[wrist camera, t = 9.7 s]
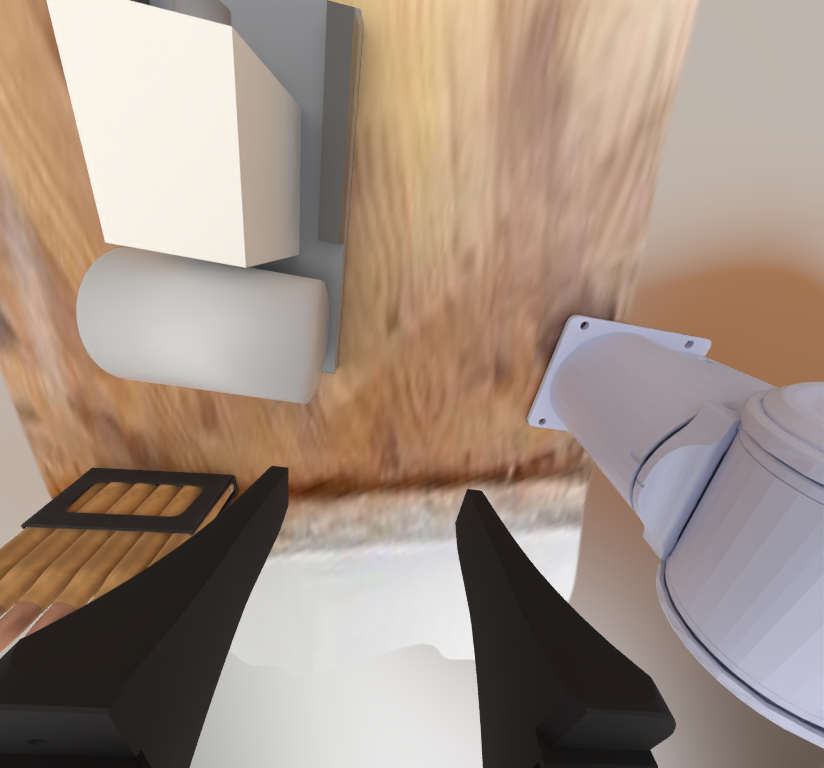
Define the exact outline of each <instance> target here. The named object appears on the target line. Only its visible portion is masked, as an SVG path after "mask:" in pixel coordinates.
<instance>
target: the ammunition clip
mask: <svg viewBox="0 0 824 768" xmlns="http://www.w3.org/2000/svg"><path fill="white" fill-rule="evenodd" d="M237 494H238V491H237V486H236V482H235V478H234V477H233V475H222V474H203V473H183V472H164V471H144V470H125V469H105V468H91V469H90V470H89V471H88V472H86V473H85V474H84V475H83V476H81V477H80V478H79V479H78V480H76V481H75V482H74V483H73V484H72V485H70V486H69V487H68V488H67V489H65V490H64V491H63V492H62V493H60V494H59V495H58V496H57V497H55V498H54V499H53V500H52V501H50V502H49V503H48V504H47V505H45V506H44V507H43V508H42V509H41V510H39V511H38V512H37V513H36V514H34V515H33V516H32V517H31V518H29V519H28V520H27V521H26V522H25V523H23V524H22V525H21V526H22V528H23V529H25V528H26V527H27V528H26V529H25V530H23V531H22V532H21V533H20V534H18V535H17V536H16V537H15V538H13V539H12V540H11V541H10V542H8V543H7V544H6V545H5V546H4V547H2V548H1V549H0V616H1V615H3V614H4V613H5V612H7V611H8V610H9V609H10V608H11V607H12V606H13V605H14V604H15V605H14V606H13V608H12V609H10V610H9V612H8V613H6V615H4V616H3V617H2V618H1V619H0V652H1V651H2V650H4V649H5V648H6V647H7V646H8V645H9V644H10V643H12V642H13V641H14V640H15V639H16V638H17V637H18V636H19V635H20V634H21V633H22V632H23V631H24V630H26V628H27V627H28V626H29V625H30V624H31V623H32V622H33V621H34V620H35V619H36V618H37V617H38V616H39V615H40V614H41V613H43V612H44V611H45V610H46V609H47V608H48V607H49V606H50V605H51V604H52V603H53V604H52V606H51V607H50V608H49V609H48V610H47V611H46V612H45V613H44V614H43V616H41V618H40V619H39V620H38V621H37V622H36V623H35V624H34V626H33V627H32V628H31V629H30V631H29V632H28V633H27V634H26V636H28V635H30V634H32V633H34V632H36V631H38V630H40V629H41V628H43V627H45V626H47V625H49V624H51V623H53V622H55V621H57V620H58V619H60V618H62V617H64V616H66V615H68V614H70V613H72V612H74V611H75V610H77V609H79V608H81V607H83V606H85V605H86V604H87V603H88V602H89V600H90V599H91V598H92V597H94V598H93V599H92V600H91V601H90V602H92V601H93V600H95V599H97V598H98V597H100V596H102V595H103V594H105V593H107V592H108V591H110V590H112V589H114V588H115V587H117V586H119V585H120V584H122V583H124V582H125V581H127V580H129V579H130V578H132V577H133V576H135V575H137V574H138V573H140V572H141V571H143V570H144V569H146V568H148V567H149V566H151V565H152V564H153V563H155V562H156V561H158V560H159V559H161V558H162V557H164V556H165V555H167V554H168V553H170V552H171V551H173V550H174V549H175V548H177V547H178V546H180V545H181V544H182V543H184V542H185V541H186V540H188V539H189V538H190V537H192V536H193V535H194V534H196V533H197V532H198V531H200V530H201V529H202V528H203V527H205V526H206V525H207V524H208V523H209V522H211V521H212V520H213V519H214V518H215V517H217V516H218V515H219V514H220V513H222V512H223V511H224V510H225V509H226V508H227V507H228V506H229V505H230V504H231V502H232V501H233V499H234V498H235V496H236V495H237ZM26 636H25V637H26Z"/></svg>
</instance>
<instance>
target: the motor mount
mask: <svg viewBox="0 0 824 768" xmlns="http://www.w3.org/2000/svg"><path fill="white" fill-rule="evenodd" d="M130 1H134V2H138V3H142V4H146V5H150V6H154V7H157V8H161V9H165V10H169V11H173V12H174V10H173V1H172V0H130ZM219 1H221V2H222V3H223V4H224V5H225V6H226V7H227V8H228V9H229V10H230V12H231V19H232V27H233V28H234V30H235V31H236V32H237V33H238V34H239V35H240V37H241V38H242V39H243V40H244V41H245V42H246V44H247V45H248V46H249V47H250V48H251V49H252V51H253V52H254V53H255V54H256V55H257V56H258V58H259V59H260V60H261V61H262V62H263V63H264V65H265V66H266V67H267V68H268V69H269V70H270V72H271V73H272V74H273V75H274V76H275V77H276V79H277V80H278V81H279V82H280V83H281V84H282V86H283V87H284V88H285V89H286V90H287V91H288V93H289V94H290V95H291V96H292V97H293V98H294V100H295V101H296V102H297V103H298V104H299V105H300V107H301V169H300V236H299V255H296V256H292V257H288V258H284V259H280V260H275V261H271V262H267V263H263V264H259V265H255V266H251V267H247V268H244V267H239V266H233V265H228V264H222V263H217V262H211V261H206V260H200V259H195V258H189V257H184V256H178V255H173V254H167V253H161V252H156V251H150V250H145V249H139V248H134V247H128V246H125V247H119V248H115V249H113V250H110V251H108V252H106V253H105V254H103V255H102V256H100V257H99V258H98V259H97V260H96V261H95V262H94V263H93V264H92V265H91V266H90V268H89V270H88V271H87V273H86V274H85V276H84V278H83V281H82V283H81V286H80V289H79V293H78V298H77V306H76V316H77V325H78V330H79V334H80V337H81V340H82V342H83V345H84V347H85V348H86V350H87V352H88V354H89V355H90V356H91V358H92V359H93V360H94V362H95V363H96V364H97V365H98V366H99V367H100V368H102V369H103V370H104V371H106V372H107V373H109V374H111V375H113V376H116V377H119V378H122V379H129V380H136V381H143V382H150V383H157V384H165V385H172V386H179V387H186V388H193V389H200V390H208V391H215V392H222V393H229V394H236V395H244V396H251V397H258V398H265V399H272V400H279V401H287V402H294V403H301V404H307V403H309V402H310V400H311V399H312V398H313V396H314V394H315V392H316V389H317V387H318V384H319V381H320V378H321V374H322V372H325V373H332V374H335V371H336V369H337V367H338V354H339V341H340V328H341V315H342V302H343V288H344V275H345V262H346V249H347V236H348V222H349V209H350V196H351V183H352V170H353V156H354V143H355V130H356V117H357V104H358V91H359V77H360V64H361V51H362V38H363V25H364V24H363V19H362V14H361V10H360V9H358V8H354V7H351V6H347V5H343V4H339V3H336V2H332V1H328V0H219Z"/></svg>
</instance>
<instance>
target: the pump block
mask: <svg viewBox="0 0 824 768" xmlns="http://www.w3.org/2000/svg"><path fill="white" fill-rule="evenodd" d="M172 1H173V10H174V12H173V11H169V10H165V9H161V8H157V7H154V6H150V5H146V4H142V3H138V2H134V1H130V0H47V4H48V8H49V12H50V16H51V21H52V25H53V29H54V33H55V37H56V41H57V45H58V49H59V53H60V58H61V62H62V66H63V70H64V74H65V78H66V82H67V86H68V91H69V95H70V99H71V103H72V107H73V111H74V115H75V119H76V123H77V128H78V132H79V136H80V140H81V144H82V148H83V152H84V156H85V160H86V165H87V169H88V173H89V177H90V181H91V185H92V189H93V193H94V197H95V202H96V206H97V210H98V214H99V218H100V222H101V226H102V230H103V234H104V239H105V242H106V243H112V244H117V245H123V246H128V247H134V248H139V249H145V250H150V251H156V252H161V253H167V254H173V255H178V256H184V257H189V258H195V259H200V260H206V261H211V262H217V263H222V264H228V265H233V266H239V267H244V268H247V267H251V266H255V265H259V264H263V263H267V262H271V261H275V260H280V259H284V258H288V257H292V256H296V255H299V236H300V169H301V107H300V105H299V104H298V103H297V102H296V101H295V100H294V98H293V97H292V96H291V95H290V94H289V93H288V91H287V90H286V89H285V88H284V87H283V86H282V84H281V83H280V82H279V81H278V80H277V79H276V77H275V76H274V75H273V74H272V73H271V72H270V70H269V69H268V68H267V67H266V66H265V65H264V63H263V62H262V61H261V60H260V59H259V58H258V56H257V55H256V54H255V53H254V52H253V51H252V49H251V48H250V47H249V46H248V45H247V44H246V42H245V41H244V40H243V39H242V38H241V37H240V35H239V34H238V33H237V32H236V31H235V30H234V28H233V27H232V19H231V12H230V10H229V9H228V8H227V7H226V6H225V5H224V4H223V3H222V2H221V1H219V0H172Z"/></svg>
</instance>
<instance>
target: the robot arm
mask: <svg viewBox="0 0 824 768" xmlns="http://www.w3.org/2000/svg"><path fill="white" fill-rule="evenodd" d="M583 322H586V325H585V326H584V327H583V328H580V326H581V324H582V323H583ZM686 342H688V343H687V345H685V344H686ZM710 347H711V341H710V340H708V339H706V338H702V337H697V336H691V335H685V334H680V333H675V332H669V331H664V330H658V329H653V328H648V327H642V326H637V325H631V324H626V323H620V322H615V321H609V320H604V319H598V318H593V317H587V316H582V315H573V316H571V317H570V318H568V320H567V322H566V324H565V326H564V329H563V331H562V334H561V336H560V339H559V341H558V343H557V346H556V348H555V351H554V353H553V356H552V358H551V360H550V363H549V365H548V368H547V370H546V373H545V375H544V378H543V380H542V382H541V385H540V387H539V390H538V392H537V395H536V397H535V399H534V402H533V404H532V407H531V409H530V412H529V414H528V416H527V422H528V423H529V424H530V425H531V426H534V427H541V428H548V429H556V430H563V431H570V433H571V434H572V435H573V436H574V437H575V439H576V440H577V441H578V442H579V444H580V445H581V446H582V447H583V449H584V450H585V451H586V452H587V454H588V455H589V456H590V457H591V458H592V460H593V461H594V462H595V463H596V465H597V466H598V467H599V468H600V470H601V471H602V472H603V473H604V474H605V476H606V477H607V478H608V479H609V481H610V482H611V483H612V484H613V486H614V487H615V488H616V489H617V491H619V493H620V494H621V495H622V497H623V498H624V499H625V500H626V502H627V503H628V504H629V505H630V506H631V508H632V509H633V510H634V512H635V513H636V514H637V515H638V516H639V518H640V519H641V520H642V522H643V523H644V527H645V530H644V534H643V537H644V539H645V540H646V541H647V542H648V544H649V545H650V546H651V547H652V549H653V550H654V551H655V553H656V554H657V555H658V556H659V558H660V559H661V560H662V561H661V563H660V565H659V567H658V570H657V574H656V589H657V593H658V597H659V601H660V603H661V606H662V609H663V611H664V613H665V615H666V617H667V619H668V620H669V622H670V624H671V626H672V628H673V629H674V630H675V632H676V634H677V635H678V636H679V638H680V639H681V640H682V642H683V643H684V645H685V646H686V647H687V648H688V650H689V651H690V652H691V653H692V654H693V655H694V657H695V658H696V659H697V660H698V661H699V662H700V663H701V664H702V665H703V666H704V667H705V668H706V669H707V670H708V671H709V672H710V673H711V674H712V675H713V676H714V677H715V678H716V679H717V680H718V681H719V682H720V683H721V684H722V685H724V686H725V687H726V688H727V689H728V690H729V691H731V692H732V693H733V694H734V695H735V696H736V697H738V698H739V699H741V700H742V701H743V702H745V703H746V704H747V705H749V706H750V707H751V708H753V709H754V710H755V711H757V712H758V713H760V714H761V715H763V716H764V717H766V718H768V719H769V720H771V721H772V722H774V723H776V724H777V725H779V726H780V727H782V728H784V729H786V730H788V731H790V732H792V733H794V734H796V735H798V736H800V737H802V738H804V739H806V740H808V741H810V742H812V743H814V744H816V745H818V746H820V747H822V748H824V382H807V383H798V384H794V385H789V386H786V387H778V388H777V387H775V386H772V385H770V384H768V383H765V382H763V381H761V380H758V379H756V378H754V377H751V376H749V375H747V374H744V373H742V372H740V371H737V370H735V369H732V368H730V367H728V366H726V365H723V364H721V363H719V362H716V361H714V360H712V359H709V358H707V357H705V355H706V354H707V352H708V350H709V349H710ZM541 419H544V420H543V421H541V422H539V420H541ZM287 508H288V468H286V467H277V466H271V467H270V468H269V469H268V470H267V471H266V472H265V473H264V474H263V475H262V476H261V477H260V478H259V479H258V480H257V481H256V482H255V483H254V484H252V485H251V486H250V487H249V488H248V489H247V490H246V491H245V492H244V493H243V494H242V495H241V496H240V497H238V498H237V499H236V500H235V501H234V502H233V503H232V504H231V505H230V506H228V507H227V508H226V509H225V510H224V511H223V512H222V513H220V514H219V515H218V516H217V517H215V518H214V519H213V520H212V521H211V522H209V523H208V524H207V525H206V526H205V527H203V528H202V529H201V530H200V531H198V532H197V533H196V534H194V535H193V536H192V537H190V538H189V539H188V540H186V541H185V542H184V543H182V544H181V545H180V546H178V547H177V548H175V549H174V550H173V551H171V552H170V553H168V554H167V555H165V556H164V557H162V558H161V559H159V560H158V561H156V562H155V563H153V564H152V565H151V566H149V567H148V568H146V569H144V570H143V571H141V572H140V573H138V574H137V575H135V576H133V577H132V578H130V579H129V580H127V581H125V582H124V583H122V584H120V585H119V586H117V587H115V588H114V589H112V590H110V591H108V592H107V593H105V594H103V595H102V596H100V597H98V598H97V599H95V600H93V601H92V602H90V603H88V604H86V605H85V606H83V607H81V608H79V609H77V610H75V611H74V612H72V613H70V614H68V615H66V616H64V617H62V618H60V619H58V620H57V621H55V622H53V623H51V624H49V625H47V626H45V627H43V628H41V629H40V630H38V631H36V632H34V633H32V634H30V635H28V636H26V637H24V638H22V639H20V640H19V641H18V642H17V643H16V644H15V645H14V646H13V647H12V648H11V649H10V650H9V651H8V652H7V653H6V654H5V655H4V656H3V657H2V658H1V659H0V768H189V767H190V764H191V761H192V758H193V755H194V751H195V749H196V746H197V742H198V739H199V736H200V733H201V730H202V727H203V724H204V721H205V718H206V715H207V712H208V709H209V706H210V703H211V700H212V697H213V694H214V691H215V688H216V686H217V683H218V680H219V677H220V674H221V671H222V668H223V665H224V663H225V660H226V657H227V654H228V651H229V649H230V646H231V643H232V640H233V637H234V635H235V632H236V629H237V627H238V624H239V621H240V619H241V616H242V613H243V611H244V608H245V605H246V603H247V601H248V598H249V596H250V594H251V591H252V589H253V587H254V585H255V583H256V581H257V579H258V576H259V574H260V572H261V570H262V568H263V566H264V564H265V562H266V559H267V557H268V555H269V553H270V551H271V549H272V547H273V544H274V542H275V540H276V538H277V536H278V534H279V531H280V529H281V526H282V523H283V520H284V517H285V514H286V511H287ZM455 524H456V538H457V549H458V555H459V560H460V565H461V570H462V576H463V581H464V586H465V591H466V596H467V601H468V606H469V612H470V618H471V624H472V634H473V643H474V652H475V663H476V673H477V683H478V697H479V710H480V724H481V740H482V759H483V768H658V765H657V763H656V761H655V759H654V757H653V755H652V753H651V751H650V749H652V748H653V747H655V746H656V745H658V744H659V743H661V742H662V741H663V740H665V739H667V738H668V737H669V736H670V735H671V734H673V732H674V730H675V727H676V723H675V719H674V718H673V716H672V714H671V712H670V710H669V708H668V707H667V705H666V703H665V701H664V699H663V698H662V696H661V694H660V692H659V690H658V689H657V687H656V685H655V683H654V682H653V680H652V678H651V677H650V676H649V675H648V674H646V673H645V672H644V671H643V670H642V669H640V668H639V667H638V666H637V665H635V664H634V663H633V662H632V661H631V660H629V659H628V658H627V657H626V656H625V655H623V654H622V653H621V652H620V651H619V650H617V649H616V648H615V647H614V646H613V645H612V644H610V643H609V642H608V641H607V640H606V639H605V638H604V637H603V636H602V635H601V634H599V633H598V632H597V631H596V630H595V629H594V628H593V627H592V626H591V625H590V624H589V623H588V622H586V621H585V620H584V619H583V618H582V617H581V616H580V615H579V614H578V613H577V612H576V611H575V610H574V609H573V608H572V607H571V606H570V605H569V604H568V603H567V602H566V601H565V600H564V599H563V597H562V596H561V595H560V594H559V593H558V592H557V591H556V590H555V589H554V588H553V587H552V586H551V584H550V583H549V582H548V581H547V580H546V579H545V578H544V576H543V575H542V574H541V573H540V572H539V571H538V569H537V568H536V567H535V566H534V565H533V563H532V562H531V561H530V560H529V558H528V557H527V556H526V554H525V553H524V552H523V551H522V549H521V548H520V547H519V545H518V544H517V542H516V541H515V540H514V538H513V537H512V535H511V534H510V533H509V531H508V530H507V528H506V527H505V525H504V524H503V522H502V521H501V519H500V518H499V516H498V515H497V513H496V512H495V510H494V509H493V507H492V506H491V504H490V503H489V501H488V500H487V498H486V496H485V495H484V493H483V492H482V491H479V490H470V489H467V492H466V494H465V497H464V500H463V503H462V506H461V509H460V512H459V514H458V517H457V520H456V523H455Z"/></svg>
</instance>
